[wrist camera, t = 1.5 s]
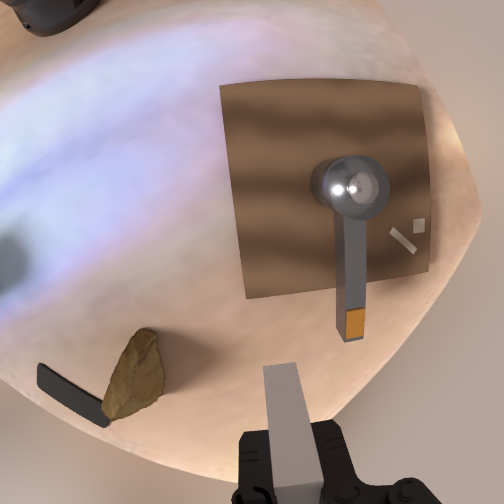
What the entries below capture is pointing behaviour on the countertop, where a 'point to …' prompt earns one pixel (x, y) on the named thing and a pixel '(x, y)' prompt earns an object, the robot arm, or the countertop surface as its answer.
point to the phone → (71, 395)
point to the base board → (302, 165)
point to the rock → (135, 378)
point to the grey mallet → (350, 229)
